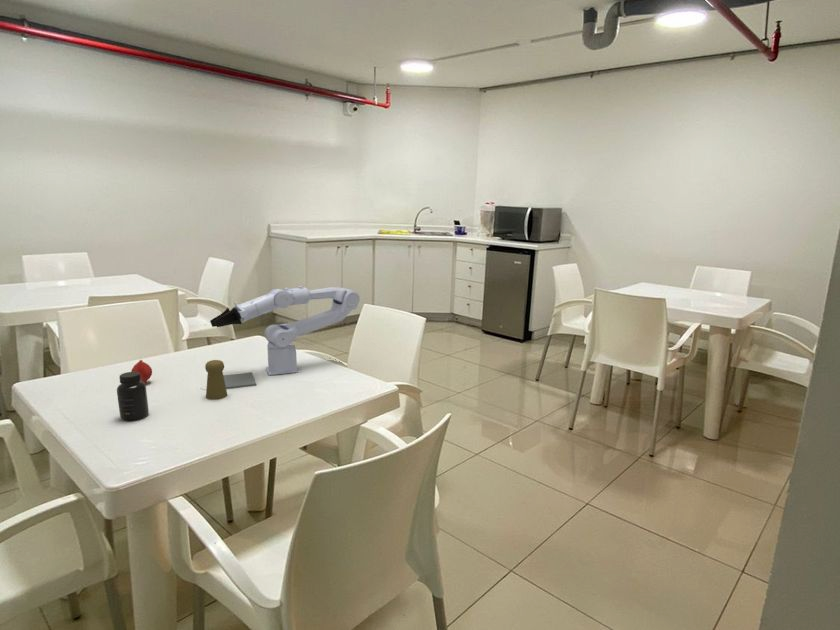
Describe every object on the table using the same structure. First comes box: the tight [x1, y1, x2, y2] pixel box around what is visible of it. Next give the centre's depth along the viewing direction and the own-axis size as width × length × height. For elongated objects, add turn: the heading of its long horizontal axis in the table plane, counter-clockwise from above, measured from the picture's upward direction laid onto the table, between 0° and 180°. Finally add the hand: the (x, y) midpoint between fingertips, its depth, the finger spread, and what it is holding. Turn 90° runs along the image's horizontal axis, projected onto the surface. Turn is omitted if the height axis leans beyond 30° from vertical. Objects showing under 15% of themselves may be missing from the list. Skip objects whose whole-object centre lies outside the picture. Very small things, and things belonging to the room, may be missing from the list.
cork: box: [204, 359, 228, 401], centre depth 151 cm, size 6×6×11 cm
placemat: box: [223, 371, 257, 390], centre depth 165 cm, size 12×12×1 cm
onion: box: [130, 359, 153, 384], centre depth 160 cm, size 6×6×8 cm
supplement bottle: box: [116, 371, 150, 422], centre depth 136 cm, size 7×7×12 cm
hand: (213, 324), depth 160 cm, fingers open, 7 cm apart
